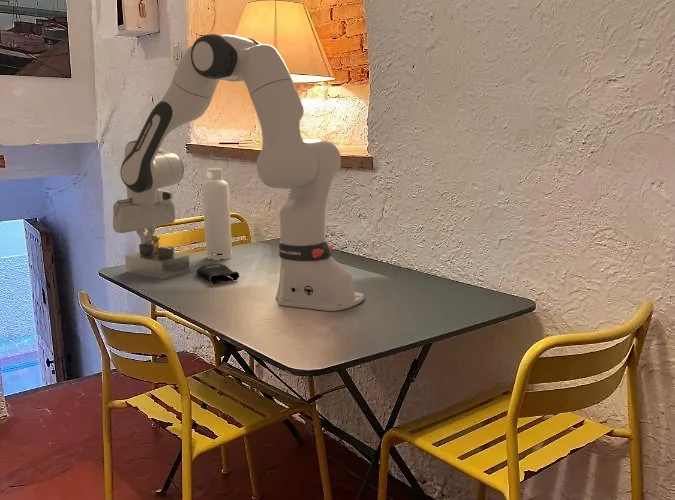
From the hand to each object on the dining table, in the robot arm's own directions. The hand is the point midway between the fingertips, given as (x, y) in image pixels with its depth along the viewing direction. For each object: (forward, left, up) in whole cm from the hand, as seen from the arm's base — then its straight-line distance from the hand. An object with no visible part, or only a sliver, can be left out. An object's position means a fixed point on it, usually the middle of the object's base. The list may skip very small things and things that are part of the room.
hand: (146, 243), depth 202 cm
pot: (-4, 0, -3) cm, 5 cm away
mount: (-4, 0, -8) cm, 9 cm away
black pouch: (-23, -5, -9) cm, 25 cm away
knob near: (-8, 0, -8) cm, 11 cm away
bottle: (-6, -23, -8) cm, 25 cm away
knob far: (0, 0, -7) cm, 7 cm away
